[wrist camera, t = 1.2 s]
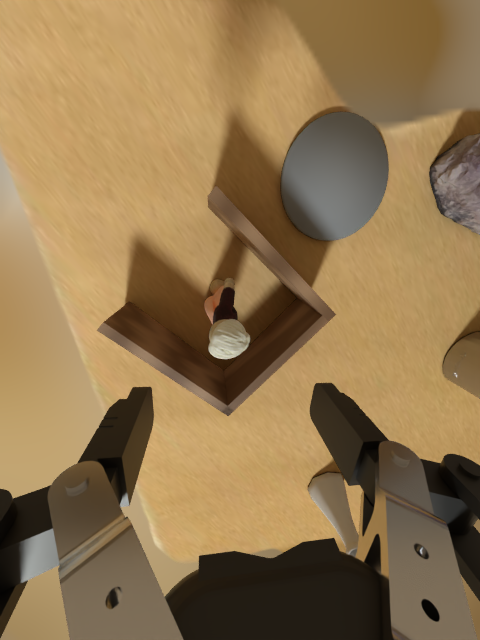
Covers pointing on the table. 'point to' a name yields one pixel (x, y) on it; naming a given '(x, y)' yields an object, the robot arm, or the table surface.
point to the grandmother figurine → (224, 321)
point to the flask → (335, 507)
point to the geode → (459, 182)
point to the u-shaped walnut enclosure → (257, 359)
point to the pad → (334, 176)
